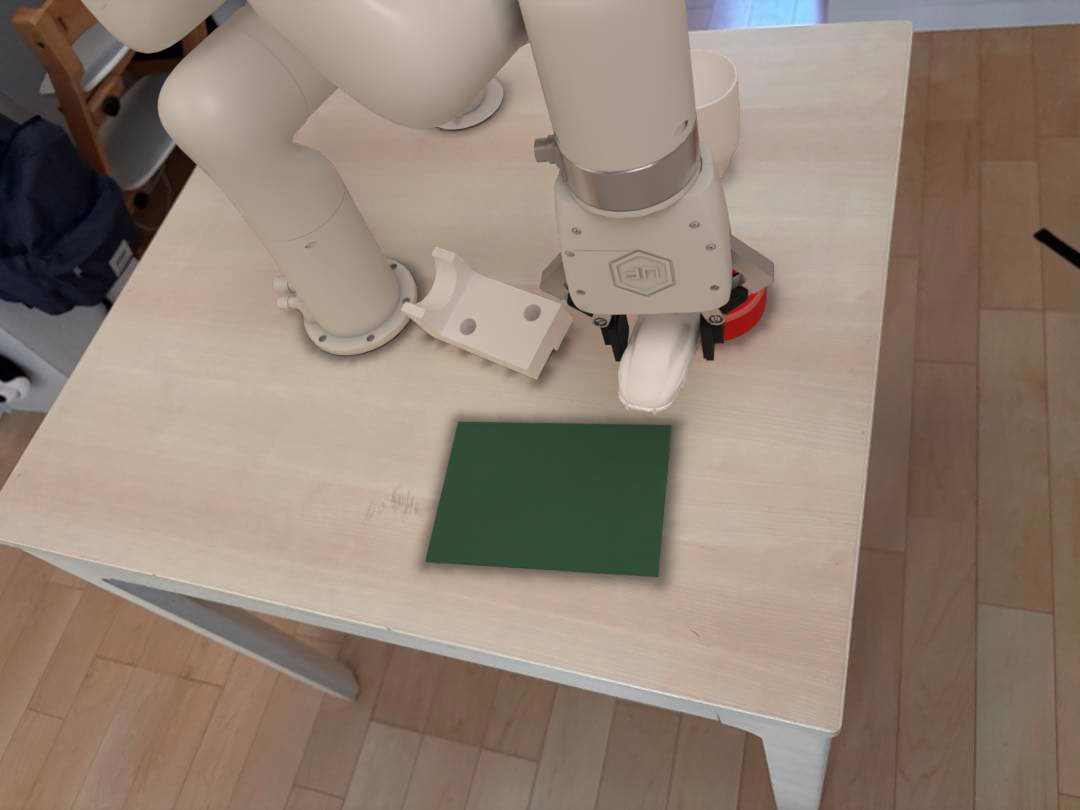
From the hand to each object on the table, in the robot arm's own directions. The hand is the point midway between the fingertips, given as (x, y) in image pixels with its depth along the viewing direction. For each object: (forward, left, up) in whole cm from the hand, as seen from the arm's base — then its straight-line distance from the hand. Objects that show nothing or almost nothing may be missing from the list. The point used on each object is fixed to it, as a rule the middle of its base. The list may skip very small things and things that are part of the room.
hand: (665, 343), depth 62 cm
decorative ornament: (+2, +16, -16) cm, 23 cm away
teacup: (-30, +48, -16) cm, 59 cm away
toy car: (0, 0, -1) cm, 1 cm away
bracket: (-19, +12, -16) cm, 28 cm away
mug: (0, +35, -16) cm, 39 cm away
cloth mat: (-11, -5, -16) cm, 20 cm away
